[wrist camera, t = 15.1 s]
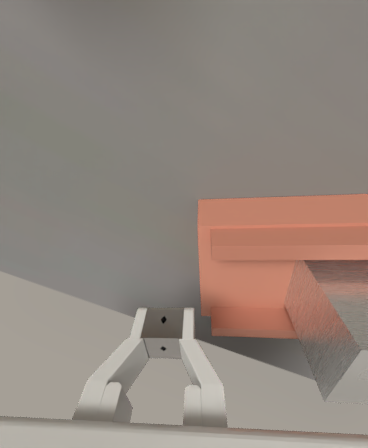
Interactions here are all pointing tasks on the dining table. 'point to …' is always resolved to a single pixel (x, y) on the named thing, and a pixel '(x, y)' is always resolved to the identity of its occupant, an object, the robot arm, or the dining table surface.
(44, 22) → the dining table surface
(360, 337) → the block with knob
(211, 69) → the dining table surface
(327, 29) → the dining table surface
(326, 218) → the pink boxy piece
